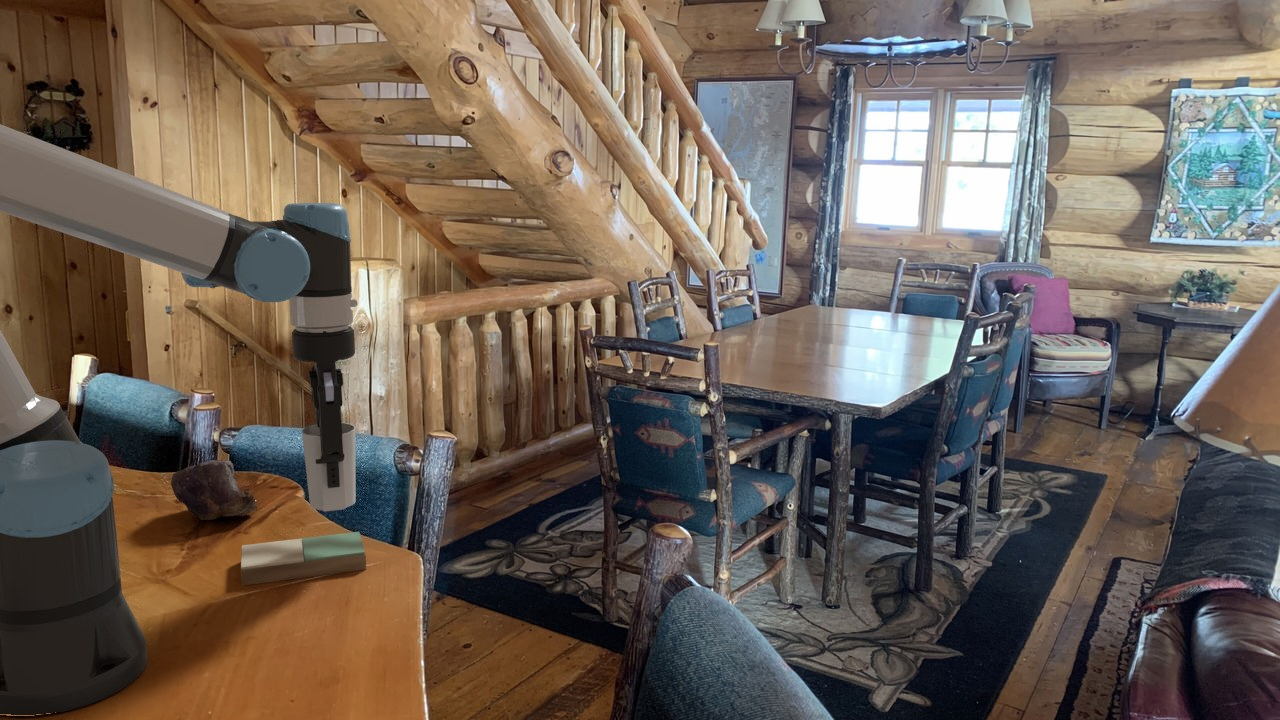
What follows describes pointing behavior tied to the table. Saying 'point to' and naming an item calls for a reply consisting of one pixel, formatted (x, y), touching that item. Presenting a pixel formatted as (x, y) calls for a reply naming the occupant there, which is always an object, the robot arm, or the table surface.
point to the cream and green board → (302, 558)
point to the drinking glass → (314, 470)
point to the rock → (212, 491)
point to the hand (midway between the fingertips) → (332, 500)
